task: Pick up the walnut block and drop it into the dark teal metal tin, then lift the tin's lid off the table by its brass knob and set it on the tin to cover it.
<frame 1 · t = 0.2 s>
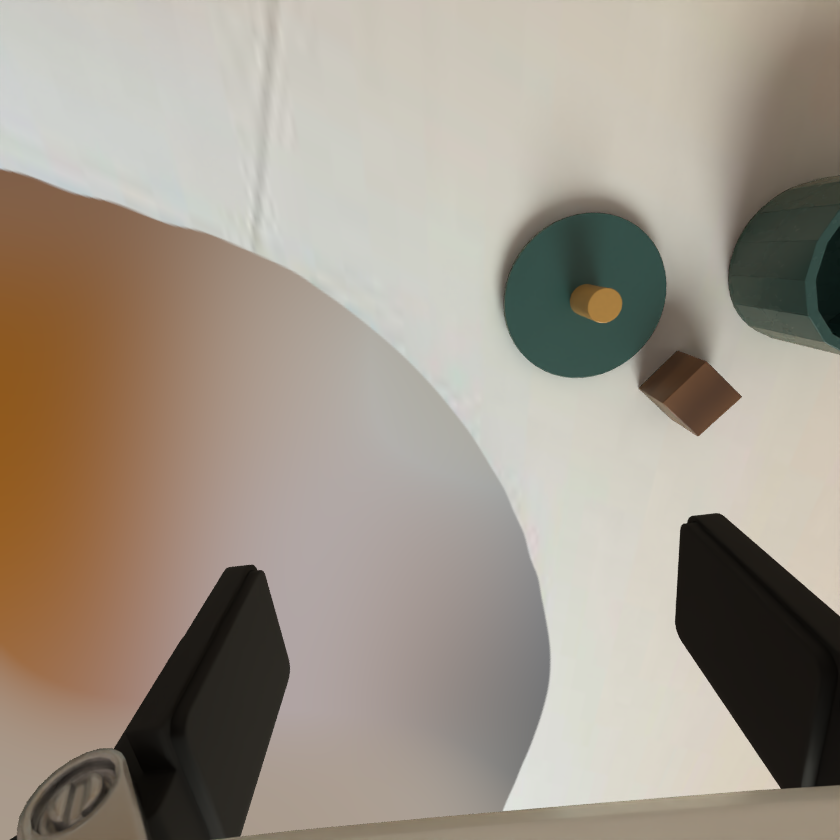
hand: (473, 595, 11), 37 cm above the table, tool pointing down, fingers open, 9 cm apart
tin: (804, 263, 44), on the table
lid: (582, 299, 44), point 1 cm above the table
block: (674, 385, 48), on the table
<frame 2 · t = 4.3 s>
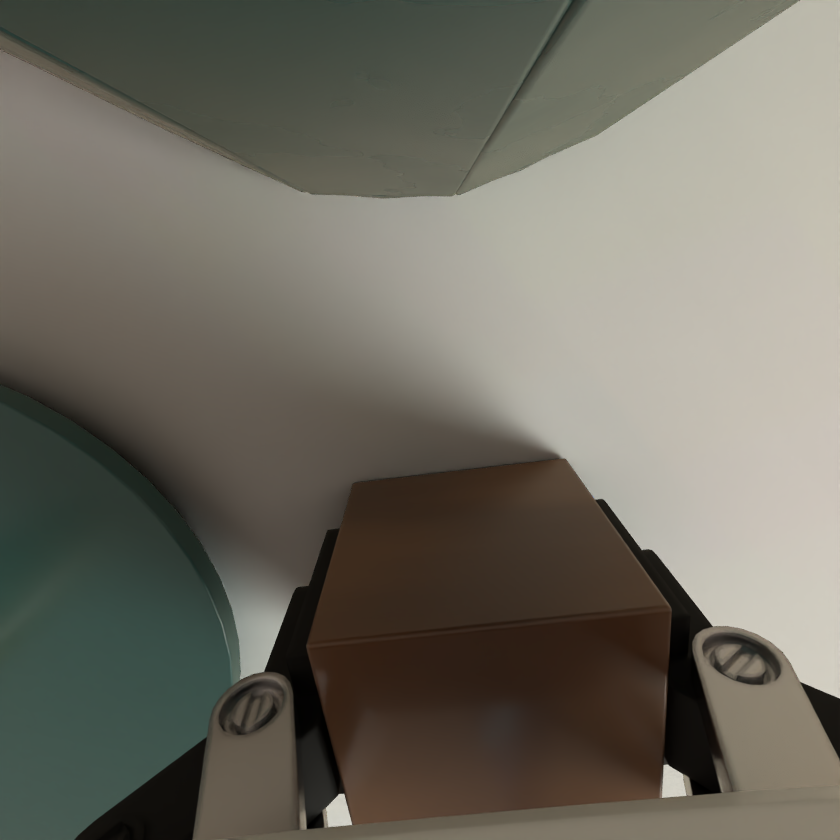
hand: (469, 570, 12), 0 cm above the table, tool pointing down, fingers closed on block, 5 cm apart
block: (468, 559, 12), on the table, touching gripper
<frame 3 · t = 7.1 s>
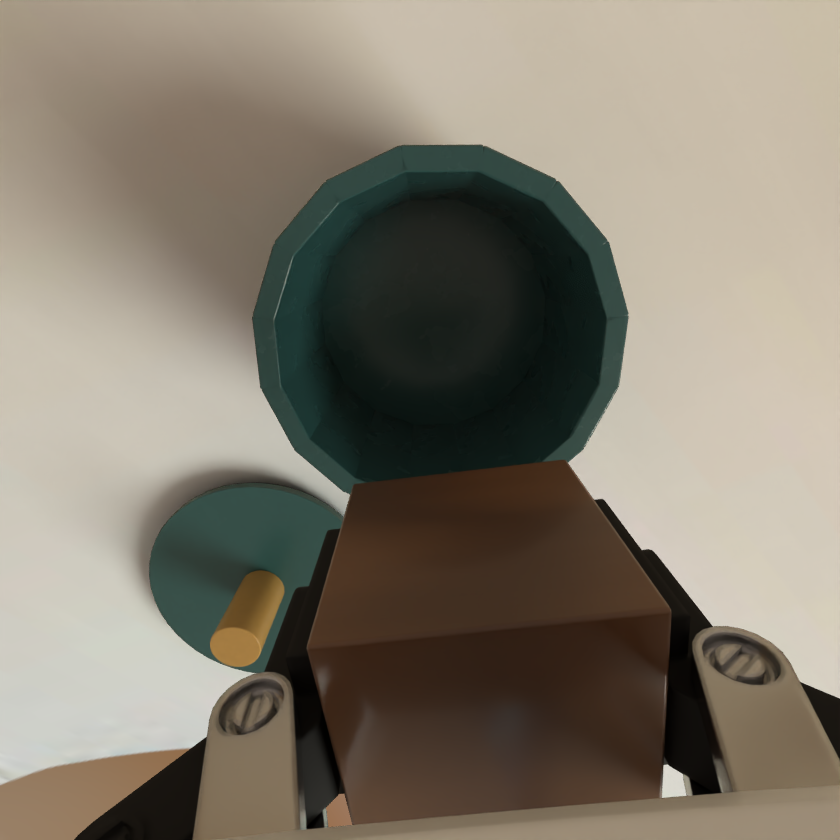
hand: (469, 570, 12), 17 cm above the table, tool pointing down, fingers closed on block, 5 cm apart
tin: (433, 319, 27), on the table
lid: (265, 582, 32), point 1 cm above the table
block: (468, 560, 12), point 17 cm above the table, touching gripper
when the fingers open (8 cm above the table, at t = 10.0 s): block drops 7 cm, resting on tin.
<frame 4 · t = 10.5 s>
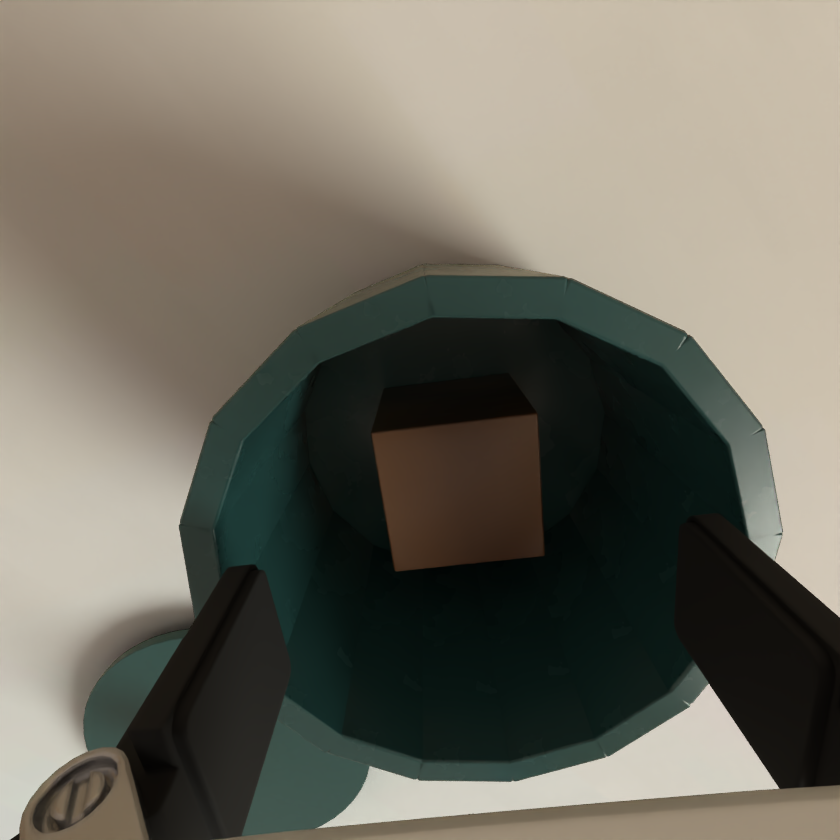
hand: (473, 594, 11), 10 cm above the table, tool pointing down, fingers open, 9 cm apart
tin: (453, 434, 20), on the table
lid: (232, 738, 25), point 1 cm above the table
block: (452, 439, 20), point 1 cm above the table, touching tin
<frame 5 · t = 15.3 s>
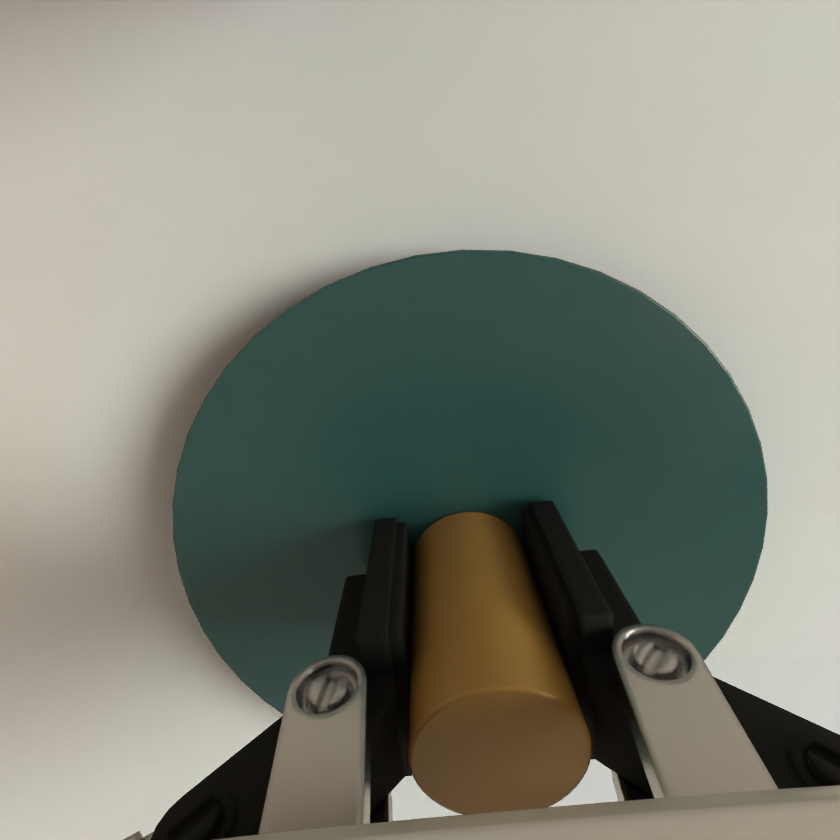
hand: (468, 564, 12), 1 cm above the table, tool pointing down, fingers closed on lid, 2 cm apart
lid: (466, 546, 13), point 1 cm above the table, touching gripper
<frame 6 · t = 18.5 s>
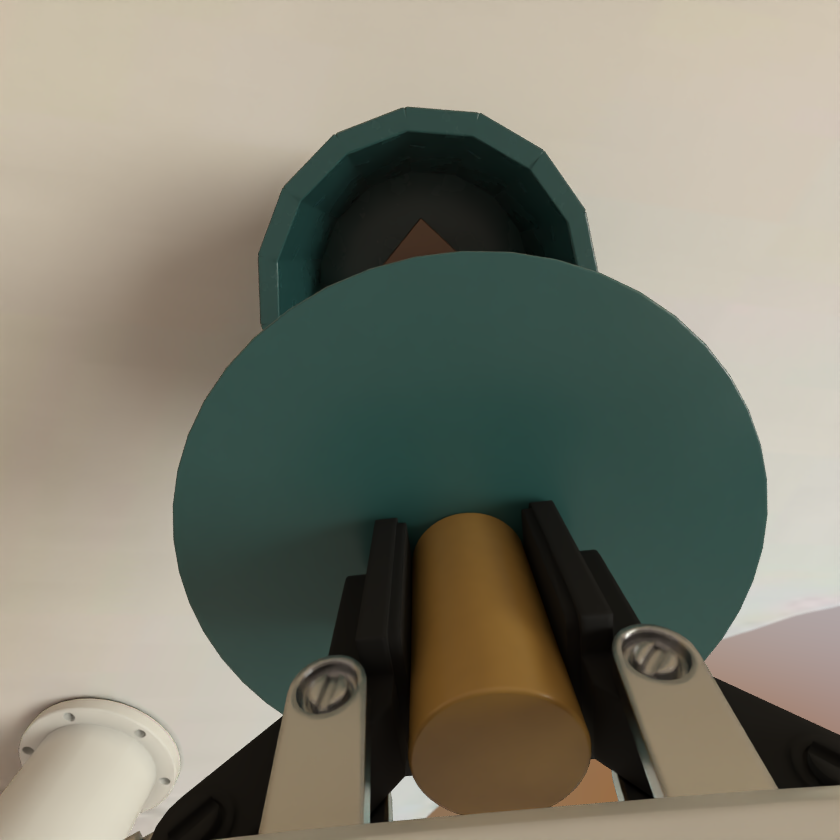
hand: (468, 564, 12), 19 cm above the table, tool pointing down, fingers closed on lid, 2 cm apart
tin: (424, 287, 28), on the table
lid: (466, 546, 13), point 19 cm above the table, touching gripper
block: (424, 289, 28), point 1 cm above the table, touching tin
when the fingers open (10 cm above the table, at t = 21.9 s): lid stays where it is, resting on tin.
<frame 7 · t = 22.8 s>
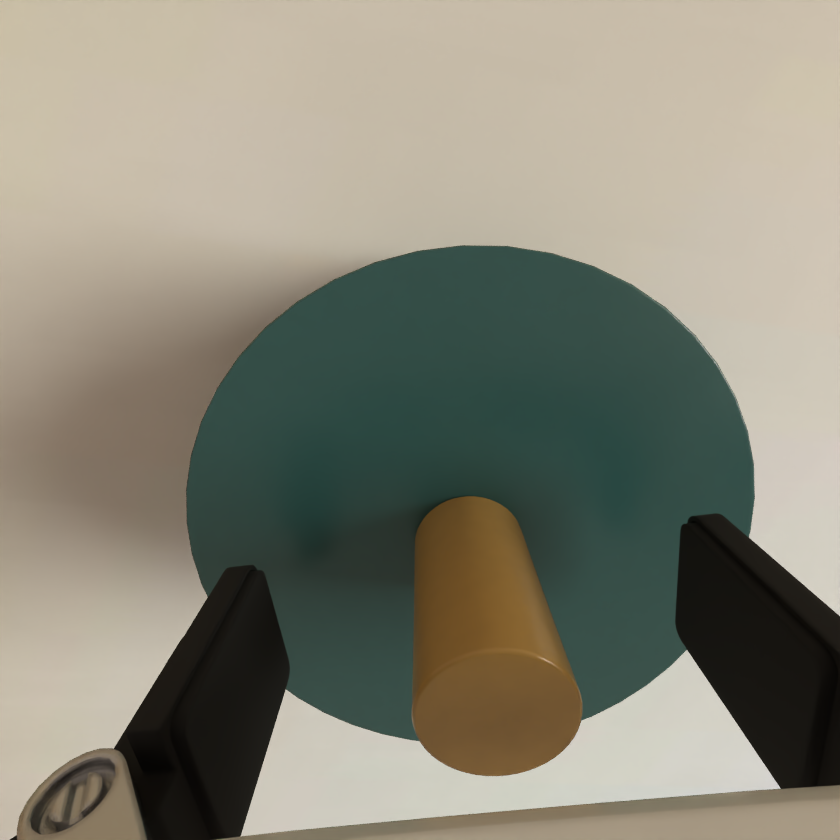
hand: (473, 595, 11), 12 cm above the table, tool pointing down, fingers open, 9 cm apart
lid: (466, 530, 13), point 9 cm above the table, touching tin
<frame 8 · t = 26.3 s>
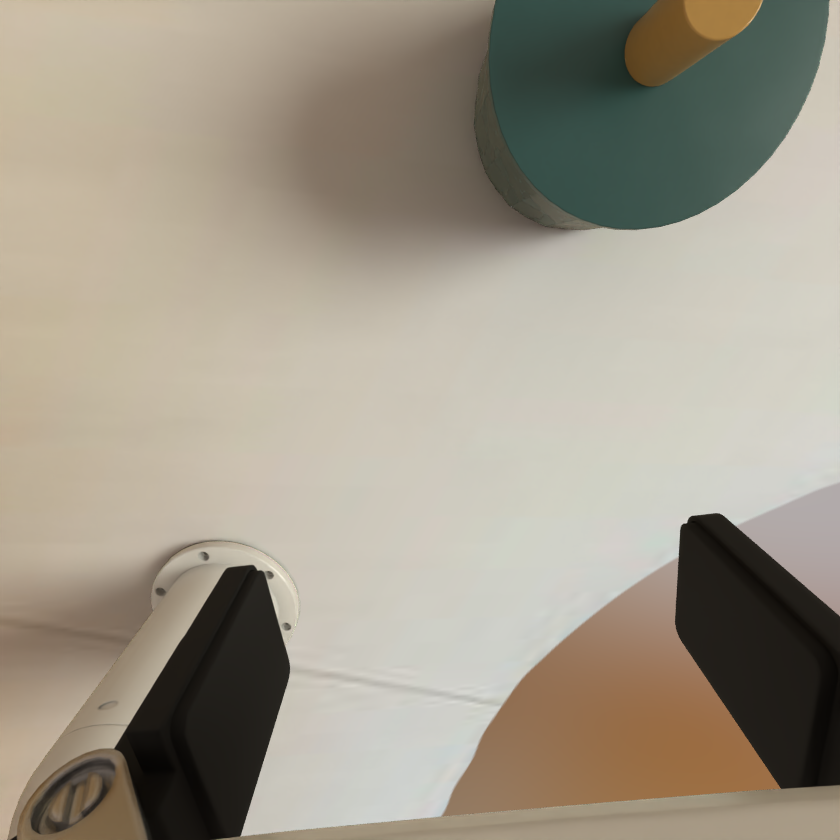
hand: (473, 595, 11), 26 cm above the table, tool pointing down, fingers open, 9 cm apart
tin: (581, 113, 31), on the table
lid: (650, 54, 22), point 9 cm above the table, touching tin
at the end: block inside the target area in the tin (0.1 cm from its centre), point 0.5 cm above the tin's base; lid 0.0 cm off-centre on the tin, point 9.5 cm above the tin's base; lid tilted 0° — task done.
